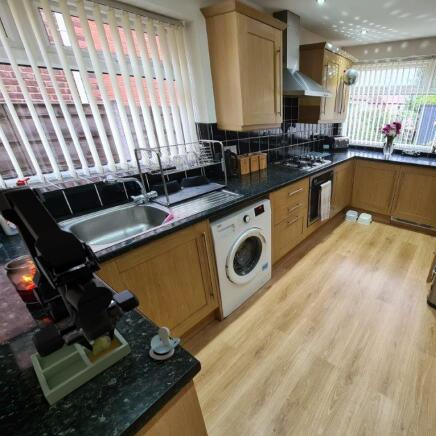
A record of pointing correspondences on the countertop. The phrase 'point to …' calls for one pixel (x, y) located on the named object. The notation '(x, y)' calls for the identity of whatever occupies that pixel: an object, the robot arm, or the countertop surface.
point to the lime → (101, 344)
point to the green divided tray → (75, 366)
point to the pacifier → (163, 344)
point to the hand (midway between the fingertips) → (102, 344)
